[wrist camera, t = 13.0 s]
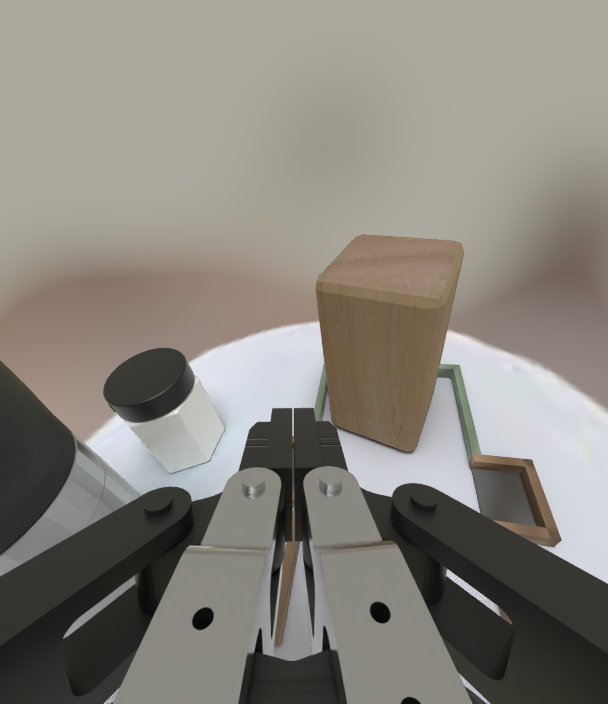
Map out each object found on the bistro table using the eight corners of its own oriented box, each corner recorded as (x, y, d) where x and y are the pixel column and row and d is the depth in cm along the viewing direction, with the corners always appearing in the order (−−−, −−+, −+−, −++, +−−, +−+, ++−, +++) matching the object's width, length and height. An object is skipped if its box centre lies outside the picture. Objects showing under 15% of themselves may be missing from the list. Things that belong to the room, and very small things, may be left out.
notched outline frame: (218, 629, 25) (211, 625, 24) (296, 366, 46) (295, 358, 45) (618, 734, 18) (633, 736, 17) (493, 375, 40) (497, 366, 39)
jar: (180, 408, 43) (139, 342, 35) (233, 415, 41) (201, 346, 33) (141, 468, 37) (79, 404, 29) (201, 480, 34) (152, 414, 26)
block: (359, 371, 44) (356, 229, 30) (434, 392, 39) (468, 236, 26) (328, 426, 37) (309, 278, 24) (413, 458, 33) (445, 298, 20)
